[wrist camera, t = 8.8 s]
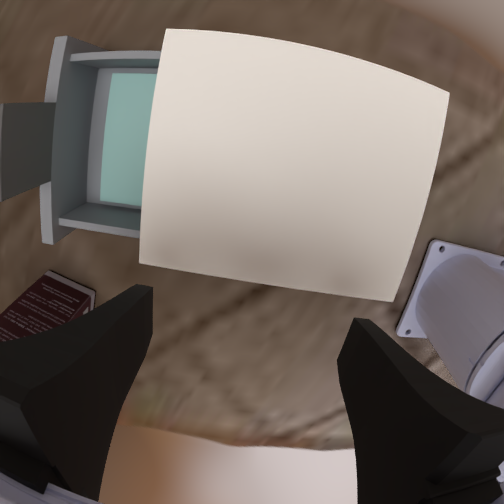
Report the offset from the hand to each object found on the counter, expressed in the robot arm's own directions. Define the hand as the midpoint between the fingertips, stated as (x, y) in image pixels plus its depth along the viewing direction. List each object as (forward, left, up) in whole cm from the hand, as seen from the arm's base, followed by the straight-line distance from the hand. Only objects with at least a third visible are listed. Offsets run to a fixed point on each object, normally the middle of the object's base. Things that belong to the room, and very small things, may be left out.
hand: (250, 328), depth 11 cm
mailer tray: (+5, -5, -10) cm, 12 cm away
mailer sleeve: (-1, -5, -10) cm, 11 cm away
